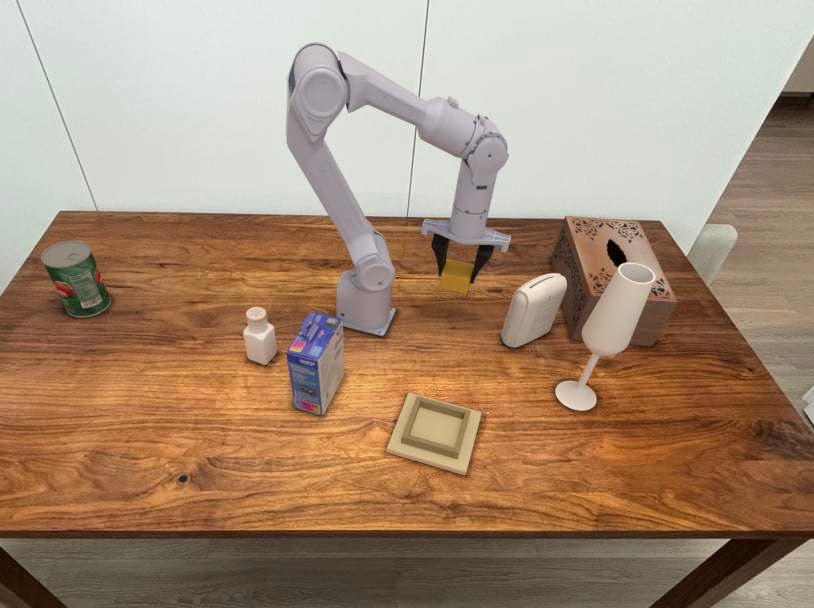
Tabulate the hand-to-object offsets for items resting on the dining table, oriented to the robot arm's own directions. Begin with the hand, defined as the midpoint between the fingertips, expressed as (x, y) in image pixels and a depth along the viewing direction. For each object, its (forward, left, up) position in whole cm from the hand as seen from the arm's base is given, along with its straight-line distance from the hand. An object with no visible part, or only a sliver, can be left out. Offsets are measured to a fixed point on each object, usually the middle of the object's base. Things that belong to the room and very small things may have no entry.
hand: (457, 276), depth 95 cm
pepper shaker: (-28, -23, -9) cm, 37 cm away
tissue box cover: (+26, +15, -9) cm, 32 cm away
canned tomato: (-64, -22, -9) cm, 68 cm away
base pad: (+4, -29, -8) cm, 30 cm away
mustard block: (0, 0, -1) cm, 1 cm away
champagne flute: (+24, -13, -8) cm, 29 cm away
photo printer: (+14, -1, -9) cm, 17 cm away
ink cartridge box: (-16, -27, -9) cm, 32 cm away
